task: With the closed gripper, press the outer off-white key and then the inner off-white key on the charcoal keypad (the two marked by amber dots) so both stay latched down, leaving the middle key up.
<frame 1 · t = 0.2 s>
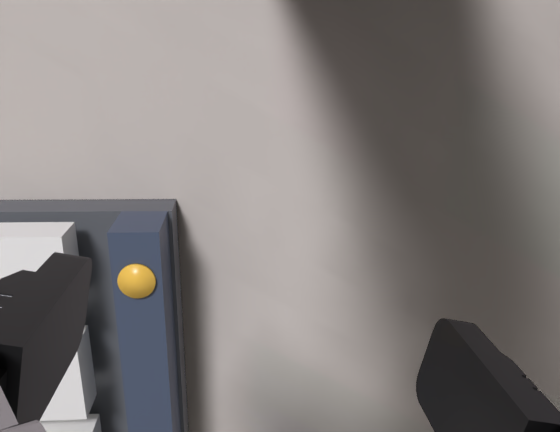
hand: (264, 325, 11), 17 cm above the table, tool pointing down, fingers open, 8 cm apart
inner key: (26, 272, 25), point 4 cm above the table, slide at 0.0 cm
middle key: (43, 373, 27), point 4 cm above the table, slide at 0.0 cm
keypad: (78, 287, 30), on the table
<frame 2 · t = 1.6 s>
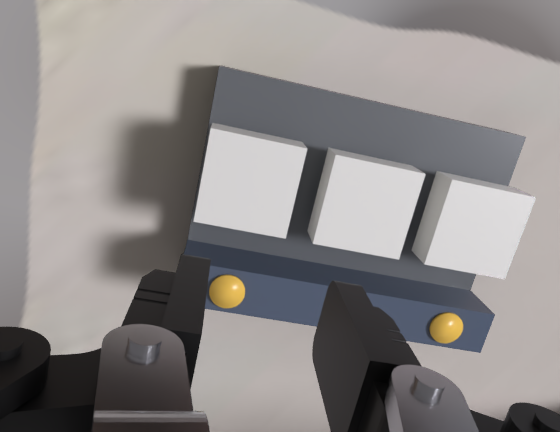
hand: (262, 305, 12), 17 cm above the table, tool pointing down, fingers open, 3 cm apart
inner key: (470, 225, 26), point 4 cm above the table, slide at 0.0 cm
middle key: (363, 203, 26), point 4 cm above the table, slide at 0.0 cm
keypad: (390, 210, 30), on the table
outer key: (249, 180, 25), point 4 cm above the table, slide at 0.0 cm
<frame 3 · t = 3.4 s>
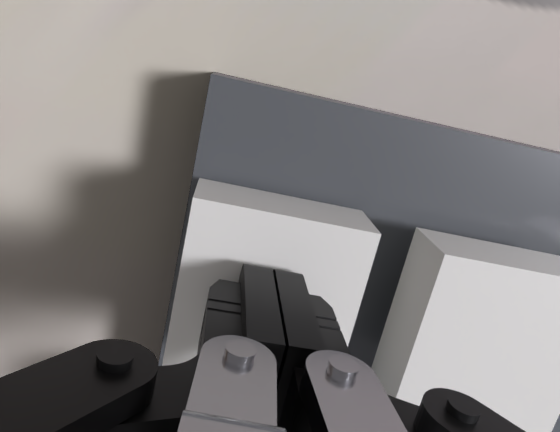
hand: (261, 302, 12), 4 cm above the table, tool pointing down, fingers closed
middle key: (482, 332, 14), point 4 cm above the table, slide at 0.0 cm
keypad: (497, 312, 18), on the table
outer key: (266, 285, 13), point 3 cm above the table, slide at 0.6 cm, touching gripper
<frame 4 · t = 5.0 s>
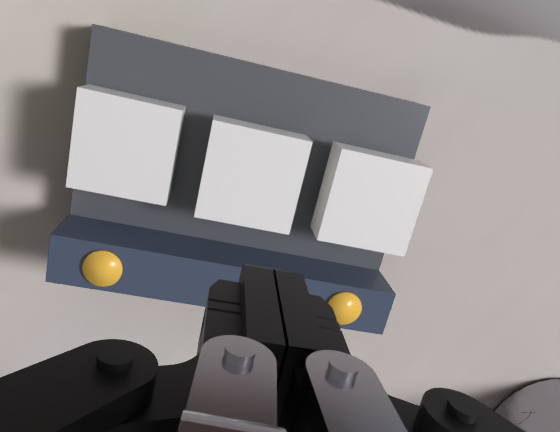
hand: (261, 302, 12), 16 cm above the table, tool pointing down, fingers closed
inner key: (368, 199, 25), point 4 cm above the table, slide at 0.0 cm
middle key: (251, 174, 24), point 4 cm above the table, slide at 0.0 cm
keypad: (295, 185, 29), on the table
outer key: (127, 145, 24), point 3 cm above the table, slide at 0.8 cm
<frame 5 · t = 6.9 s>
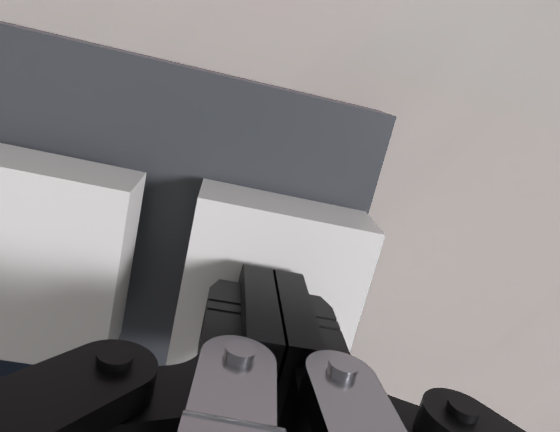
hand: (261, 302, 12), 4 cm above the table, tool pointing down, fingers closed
inner key: (270, 285, 13), point 3 cm above the table, slide at 0.7 cm, touching gripper
middle key: (27, 253, 12), point 4 cm above the table, slide at 0.0 cm
keypad: (169, 253, 16), on the table
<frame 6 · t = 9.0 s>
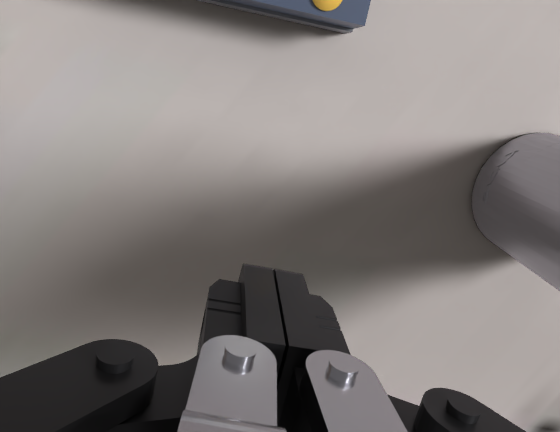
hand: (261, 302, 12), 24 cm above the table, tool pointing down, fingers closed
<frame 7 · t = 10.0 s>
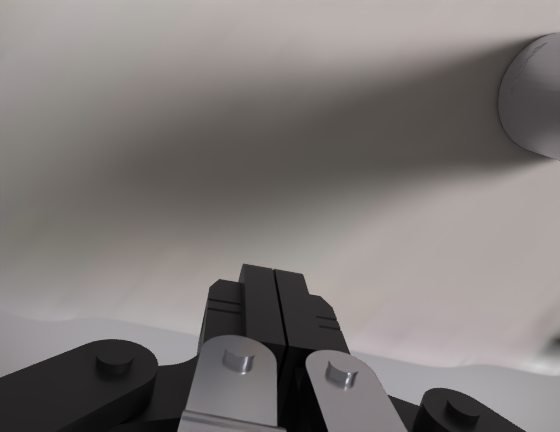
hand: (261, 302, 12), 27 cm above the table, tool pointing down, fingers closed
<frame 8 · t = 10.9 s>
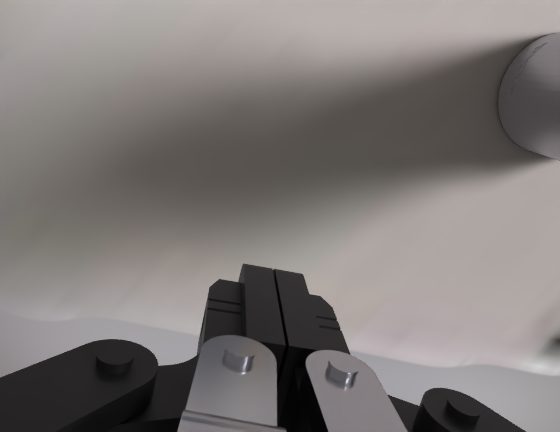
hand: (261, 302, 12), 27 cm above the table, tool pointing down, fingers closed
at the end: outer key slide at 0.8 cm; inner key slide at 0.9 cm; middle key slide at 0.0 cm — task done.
